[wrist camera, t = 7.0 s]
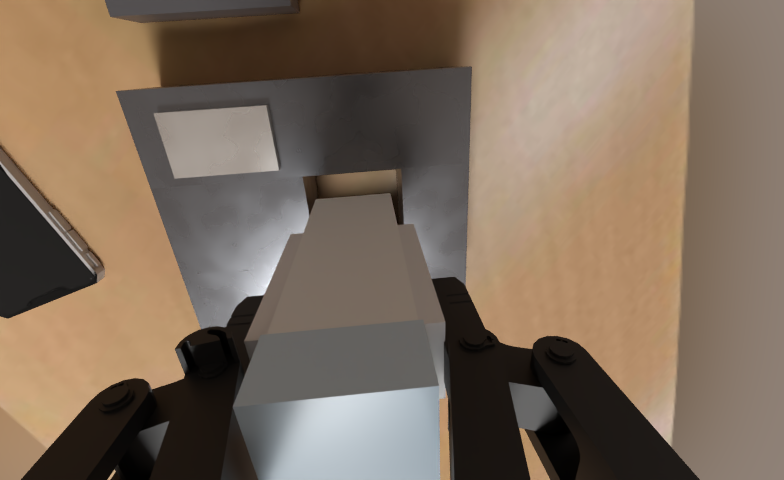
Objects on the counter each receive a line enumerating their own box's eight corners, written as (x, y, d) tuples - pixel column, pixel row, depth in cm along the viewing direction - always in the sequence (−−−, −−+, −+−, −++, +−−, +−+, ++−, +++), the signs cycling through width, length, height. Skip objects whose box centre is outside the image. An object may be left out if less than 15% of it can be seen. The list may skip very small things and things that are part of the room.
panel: (160, 86, 20) (110, 91, 16) (452, 66, 20) (474, 66, 17) (226, 301, 26) (202, 343, 22) (450, 280, 26) (466, 317, 23)
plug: (313, 197, 18) (232, 407, 7) (392, 191, 18) (439, 385, 7) (324, 266, 19) (274, 525, 8) (396, 260, 19) (440, 506, 8)
